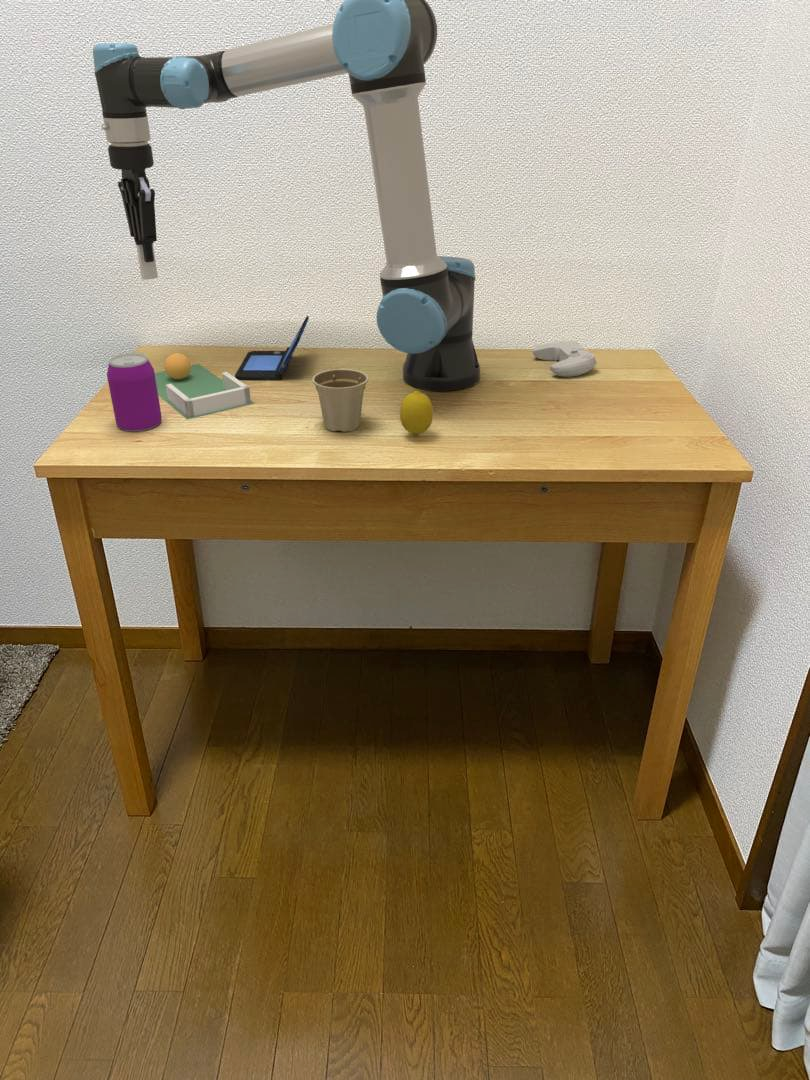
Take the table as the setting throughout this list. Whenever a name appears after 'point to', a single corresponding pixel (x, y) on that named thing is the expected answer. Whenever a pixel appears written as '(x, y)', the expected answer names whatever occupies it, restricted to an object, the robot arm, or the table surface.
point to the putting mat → (192, 386)
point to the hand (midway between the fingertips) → (149, 278)
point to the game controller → (566, 358)
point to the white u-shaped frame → (211, 398)
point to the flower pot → (341, 397)
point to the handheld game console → (268, 362)
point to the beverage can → (133, 392)
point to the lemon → (416, 413)
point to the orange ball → (177, 366)
